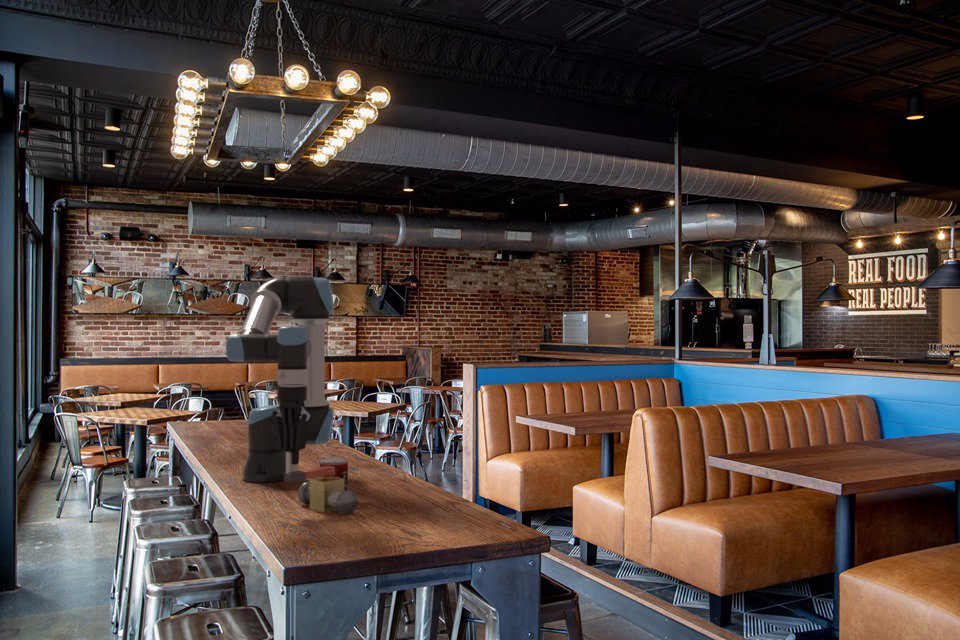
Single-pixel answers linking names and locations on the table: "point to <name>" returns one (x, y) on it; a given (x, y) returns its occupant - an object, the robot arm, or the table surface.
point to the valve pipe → (328, 495)
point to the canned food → (338, 468)
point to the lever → (309, 474)
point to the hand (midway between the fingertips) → (291, 476)
